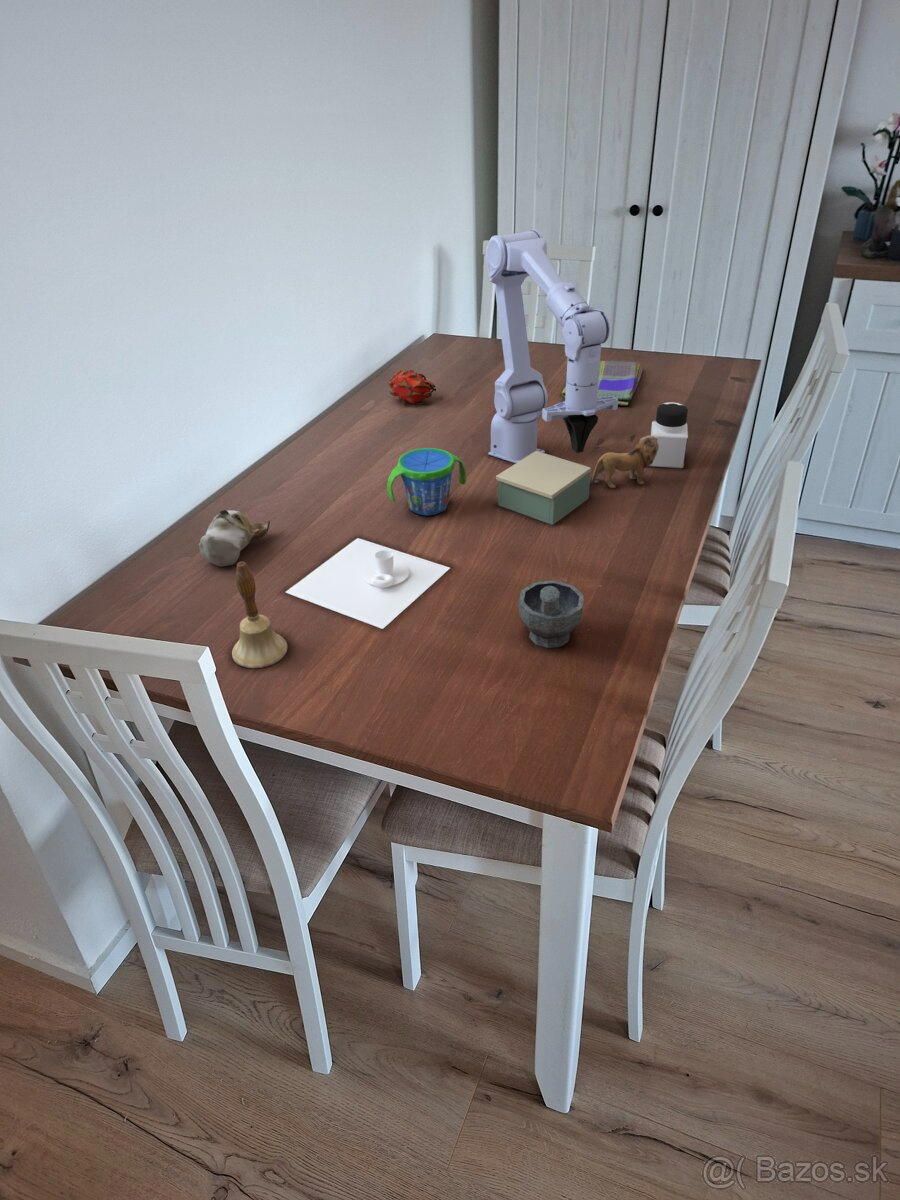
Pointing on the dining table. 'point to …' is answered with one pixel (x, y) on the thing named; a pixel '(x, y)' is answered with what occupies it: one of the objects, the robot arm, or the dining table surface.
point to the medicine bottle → (670, 435)
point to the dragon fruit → (410, 386)
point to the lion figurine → (628, 461)
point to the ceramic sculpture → (229, 537)
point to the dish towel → (617, 380)
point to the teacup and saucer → (368, 582)
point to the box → (544, 500)
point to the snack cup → (426, 479)
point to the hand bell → (255, 629)
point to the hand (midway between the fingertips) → (577, 450)
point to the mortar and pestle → (550, 611)
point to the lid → (543, 474)
